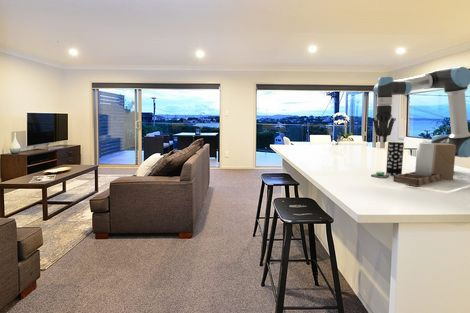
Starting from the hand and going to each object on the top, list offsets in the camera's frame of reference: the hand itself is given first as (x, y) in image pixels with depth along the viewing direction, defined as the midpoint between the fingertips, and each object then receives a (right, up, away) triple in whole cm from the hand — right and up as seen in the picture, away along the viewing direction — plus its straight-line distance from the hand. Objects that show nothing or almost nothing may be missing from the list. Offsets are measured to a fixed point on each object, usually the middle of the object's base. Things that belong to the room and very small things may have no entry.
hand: (382, 147), depth 197 cm
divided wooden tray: (+15, -19, -9) cm, 26 cm away
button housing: (-1, -17, +2) cm, 17 cm away
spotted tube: (+10, -17, +9) cm, 22 cm away
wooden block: (+33, -18, +1) cm, 37 cm away
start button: (-1, -16, +2) cm, 16 cm away
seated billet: (+20, -17, -5) cm, 27 cm away
